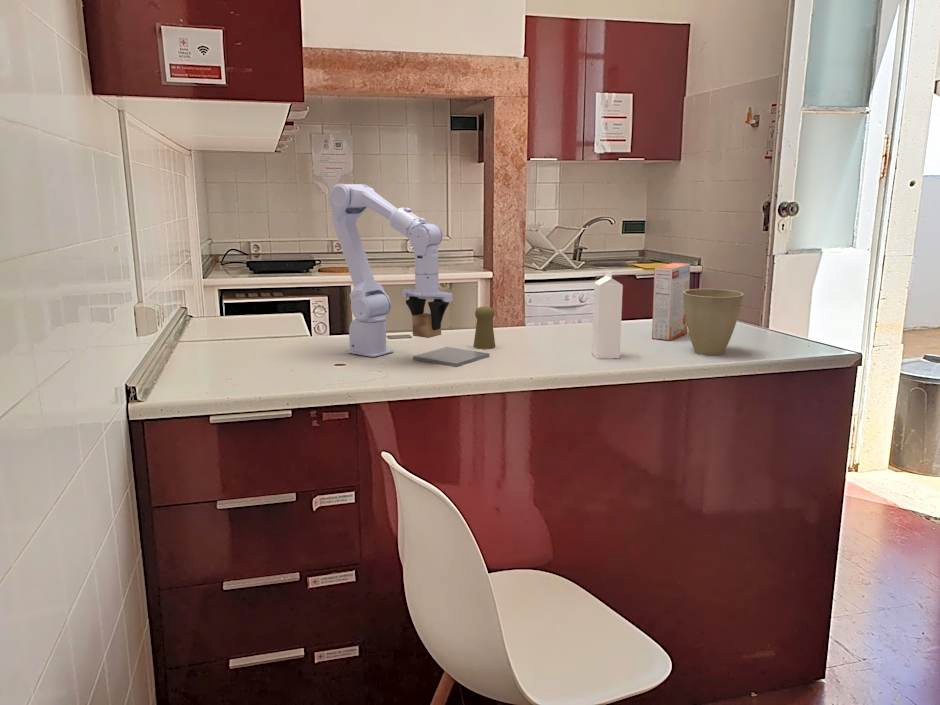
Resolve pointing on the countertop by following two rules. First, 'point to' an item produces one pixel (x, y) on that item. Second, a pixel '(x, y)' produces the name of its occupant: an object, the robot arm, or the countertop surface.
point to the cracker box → (670, 300)
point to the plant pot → (711, 318)
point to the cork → (484, 328)
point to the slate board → (451, 356)
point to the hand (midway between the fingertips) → (427, 328)
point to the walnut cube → (424, 326)
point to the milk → (607, 318)
